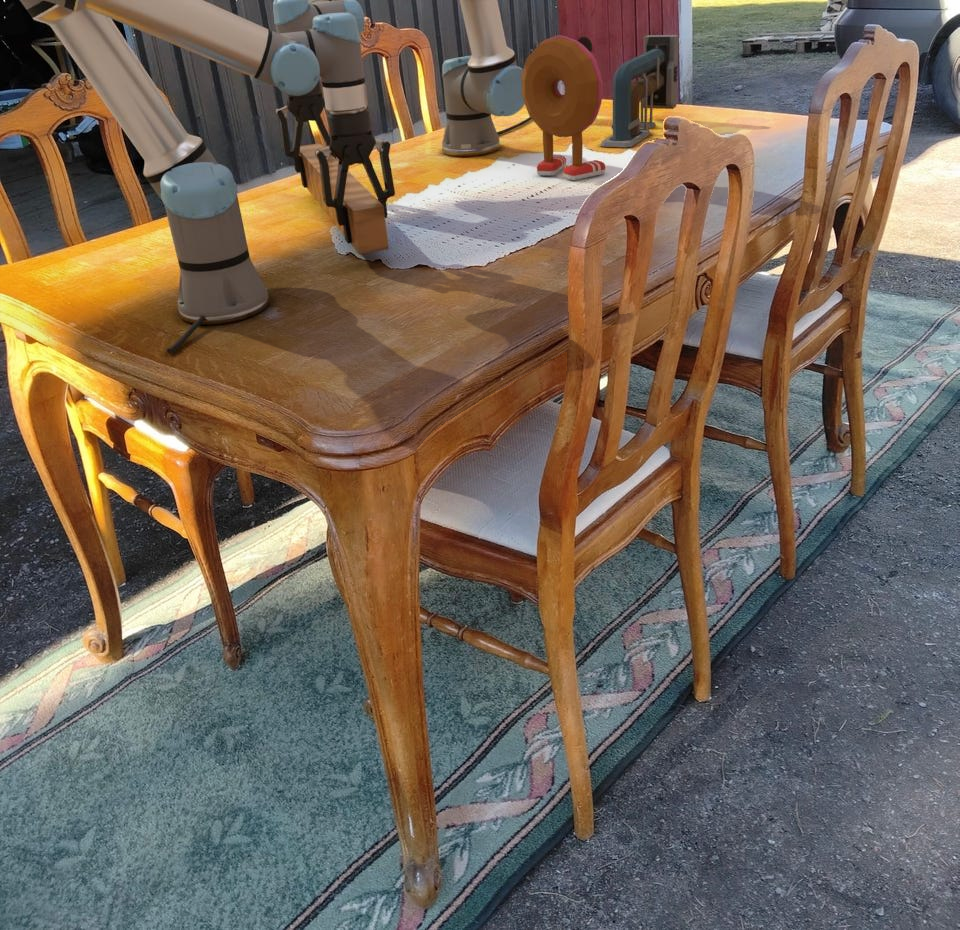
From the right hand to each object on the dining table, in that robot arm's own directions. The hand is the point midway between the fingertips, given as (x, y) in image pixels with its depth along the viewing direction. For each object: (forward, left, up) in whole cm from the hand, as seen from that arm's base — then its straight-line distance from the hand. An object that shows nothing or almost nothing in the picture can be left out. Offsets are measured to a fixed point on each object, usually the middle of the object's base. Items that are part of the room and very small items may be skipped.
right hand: (318, 183), depth 220 cm
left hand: (+37, +27, 0) cm, 46 cm away
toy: (-24, +53, -4) cm, 58 cm away
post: (+19, +14, -1) cm, 23 cm away
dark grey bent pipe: (-67, +63, -4) cm, 92 cm away
